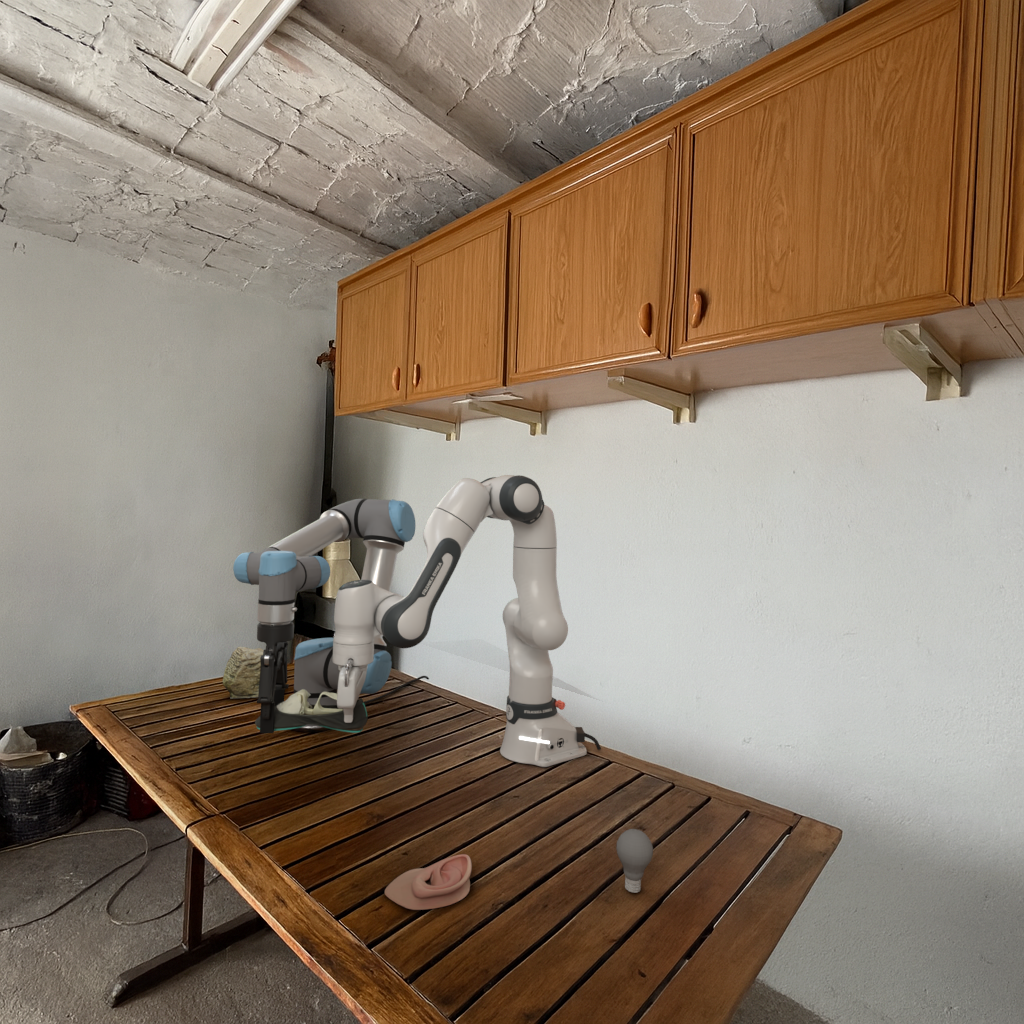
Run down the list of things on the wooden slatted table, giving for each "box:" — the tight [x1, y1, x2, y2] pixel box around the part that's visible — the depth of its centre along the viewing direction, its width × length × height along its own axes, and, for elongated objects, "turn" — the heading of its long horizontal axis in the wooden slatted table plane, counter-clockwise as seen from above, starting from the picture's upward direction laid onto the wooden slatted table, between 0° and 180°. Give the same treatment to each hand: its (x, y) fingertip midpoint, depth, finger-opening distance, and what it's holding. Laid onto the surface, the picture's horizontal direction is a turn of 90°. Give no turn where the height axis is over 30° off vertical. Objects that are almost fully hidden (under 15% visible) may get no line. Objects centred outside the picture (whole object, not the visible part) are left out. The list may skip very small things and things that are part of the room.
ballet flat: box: [254, 689, 369, 734], centre depth 140 cm, size 8×24×8 cm, turn 98°
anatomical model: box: [384, 853, 473, 911], centre depth 104 cm, size 13×4×12 cm
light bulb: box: [615, 828, 654, 894], centre depth 106 cm, size 6×6×10 cm
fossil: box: [222, 646, 287, 699], centre depth 198 cm, size 9×18×15 cm, turn 132°
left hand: (272, 725), depth 139 cm, fingers closed on ballet flat, 8 cm apart
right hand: (351, 715), depth 140 cm, fingers closed on ballet flat, 6 cm apart
